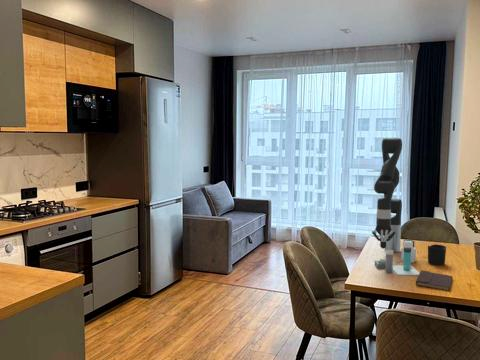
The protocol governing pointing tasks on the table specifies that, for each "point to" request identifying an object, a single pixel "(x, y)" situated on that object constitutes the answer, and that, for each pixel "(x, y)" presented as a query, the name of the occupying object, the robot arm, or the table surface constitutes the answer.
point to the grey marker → (389, 261)
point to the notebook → (434, 280)
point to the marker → (407, 259)
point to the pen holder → (436, 254)
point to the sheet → (400, 271)
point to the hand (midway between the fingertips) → (382, 248)
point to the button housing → (380, 265)
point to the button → (382, 260)
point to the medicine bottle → (413, 250)
